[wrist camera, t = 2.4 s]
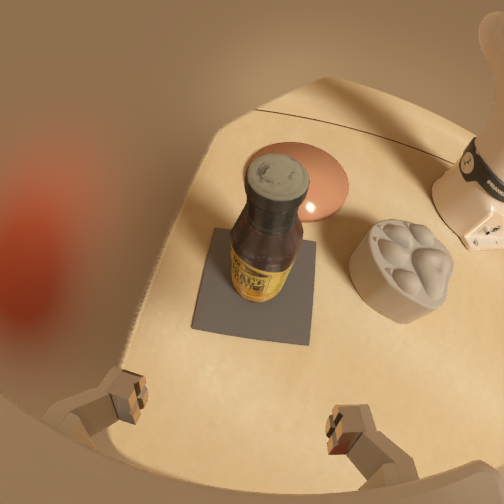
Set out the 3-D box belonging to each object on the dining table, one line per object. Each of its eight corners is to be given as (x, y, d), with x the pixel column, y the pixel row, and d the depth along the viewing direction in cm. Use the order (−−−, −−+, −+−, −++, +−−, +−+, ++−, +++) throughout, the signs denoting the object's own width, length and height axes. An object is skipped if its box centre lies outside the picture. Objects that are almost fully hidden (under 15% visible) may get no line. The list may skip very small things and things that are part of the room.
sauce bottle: (222, 276, 35) (202, 160, 17) (262, 250, 36) (277, 126, 19) (253, 318, 32) (264, 230, 15) (294, 288, 34) (342, 182, 16)
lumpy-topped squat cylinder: (410, 333, 32) (448, 316, 24) (334, 285, 35) (358, 256, 27) (430, 274, 36) (463, 247, 28) (363, 230, 39) (386, 194, 31)
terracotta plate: (343, 155, 46) (345, 151, 45) (348, 230, 39) (351, 225, 38) (255, 141, 47) (255, 136, 45) (239, 213, 39) (239, 209, 38)
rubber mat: (315, 243, 38) (316, 241, 37) (308, 345, 31) (308, 345, 31) (214, 228, 38) (214, 227, 38) (192, 328, 32) (191, 328, 32)
